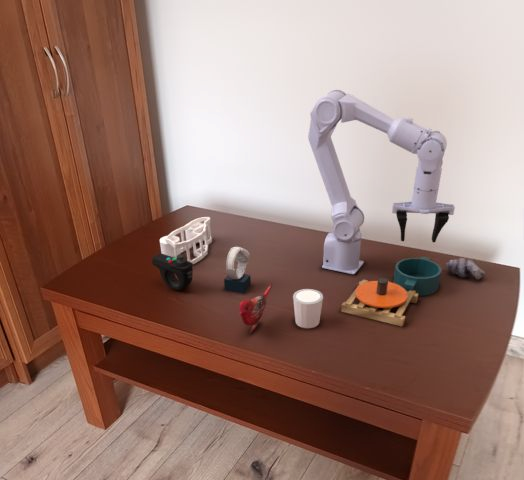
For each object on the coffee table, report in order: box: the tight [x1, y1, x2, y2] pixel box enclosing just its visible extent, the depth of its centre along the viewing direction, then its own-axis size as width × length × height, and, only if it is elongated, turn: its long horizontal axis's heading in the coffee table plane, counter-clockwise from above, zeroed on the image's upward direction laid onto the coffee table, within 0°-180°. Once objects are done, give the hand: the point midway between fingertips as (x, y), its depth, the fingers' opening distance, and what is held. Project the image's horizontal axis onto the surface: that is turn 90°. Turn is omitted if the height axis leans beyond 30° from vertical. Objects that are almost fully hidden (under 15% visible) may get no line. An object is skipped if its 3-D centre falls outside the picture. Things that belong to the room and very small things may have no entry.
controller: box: [151, 253, 194, 291], centre depth 136 cm, size 4×12×10 cm, turn 54°
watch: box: [223, 246, 252, 294], centre depth 135 cm, size 6×8×11 cm
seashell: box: [445, 257, 485, 280], centre depth 138 cm, size 5×5×10 cm
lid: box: [355, 277, 408, 309], centre depth 126 cm, size 12×12×4 cm
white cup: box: [292, 288, 324, 329], centre depth 122 cm, size 7×7×7 cm
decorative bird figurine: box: [238, 283, 273, 334], centre depth 121 cm, size 3×18×10 cm, turn 156°
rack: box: [340, 279, 419, 327], centre depth 128 cm, size 15×13×3 cm
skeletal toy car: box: [159, 216, 213, 265], centre depth 153 cm, size 20×11×7 cm, turn 147°
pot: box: [392, 256, 443, 297], centre depth 135 cm, size 11×17×5 cm
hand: (417, 240), depth 134 cm, fingers open, 7 cm apart
